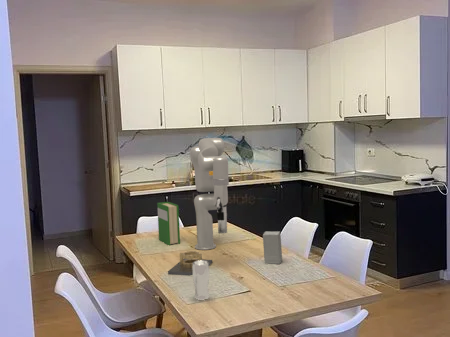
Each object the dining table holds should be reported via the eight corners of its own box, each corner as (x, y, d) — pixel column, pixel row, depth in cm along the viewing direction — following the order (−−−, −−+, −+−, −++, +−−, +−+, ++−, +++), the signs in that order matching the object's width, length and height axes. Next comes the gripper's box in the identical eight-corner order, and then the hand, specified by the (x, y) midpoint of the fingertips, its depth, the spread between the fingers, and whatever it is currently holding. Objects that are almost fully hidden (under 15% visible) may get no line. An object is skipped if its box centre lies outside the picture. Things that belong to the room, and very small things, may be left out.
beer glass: (193, 295, 190) (191, 260, 188) (209, 294, 190) (208, 259, 189) (193, 301, 183) (192, 265, 181) (210, 300, 183) (209, 264, 182)
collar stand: (183, 261, 240) (183, 247, 240) (212, 262, 236) (212, 248, 235) (168, 274, 219) (167, 259, 218) (199, 276, 215) (198, 260, 214)
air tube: (219, 231, 227) (218, 199, 225) (228, 231, 225) (227, 199, 224) (216, 233, 222) (215, 201, 221) (226, 233, 221) (224, 201, 220)
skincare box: (282, 261, 235) (281, 231, 233) (279, 265, 228) (278, 234, 227) (266, 260, 238) (265, 230, 236) (263, 263, 231) (262, 233, 230)
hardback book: (180, 243, 278) (178, 205, 276) (168, 245, 275) (167, 206, 273) (169, 238, 294) (168, 201, 292) (159, 239, 290) (157, 202, 288)
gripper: (218, 180, 231) (219, 215, 232) (208, 184, 214) (210, 222, 216) (232, 180, 229) (233, 216, 230) (223, 184, 212) (225, 222, 214)
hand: (222, 218), depth 223 cm, fingers closed on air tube, 4 cm apart
